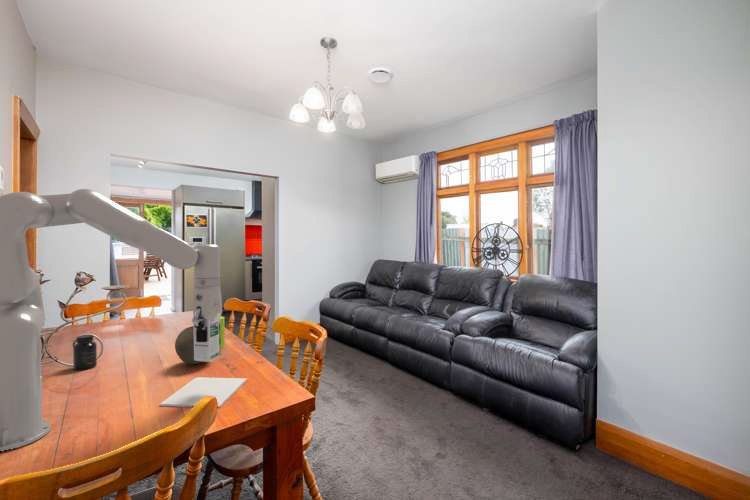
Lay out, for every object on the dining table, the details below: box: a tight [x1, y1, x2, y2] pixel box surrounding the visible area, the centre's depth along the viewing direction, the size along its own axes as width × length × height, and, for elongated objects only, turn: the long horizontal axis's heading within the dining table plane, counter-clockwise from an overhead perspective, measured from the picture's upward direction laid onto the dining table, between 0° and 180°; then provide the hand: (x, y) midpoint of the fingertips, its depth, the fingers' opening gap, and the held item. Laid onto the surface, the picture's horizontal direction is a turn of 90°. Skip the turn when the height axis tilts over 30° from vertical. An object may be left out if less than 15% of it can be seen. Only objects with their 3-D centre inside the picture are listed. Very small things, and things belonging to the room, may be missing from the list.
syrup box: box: [192, 313, 222, 363], centre depth 112 cm, size 6×6×14 cm
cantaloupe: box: [174, 326, 204, 365], centre depth 136 cm, size 14×14×15 cm
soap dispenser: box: [220, 313, 226, 348], centre depth 159 cm, size 6×7×20 cm
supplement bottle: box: [72, 334, 98, 371], centre depth 131 cm, size 7×7×12 cm
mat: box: [159, 376, 248, 409], centre depth 112 cm, size 20×18×1 cm
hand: (207, 338), depth 112 cm, fingers closed on syrup box, 6 cm apart
